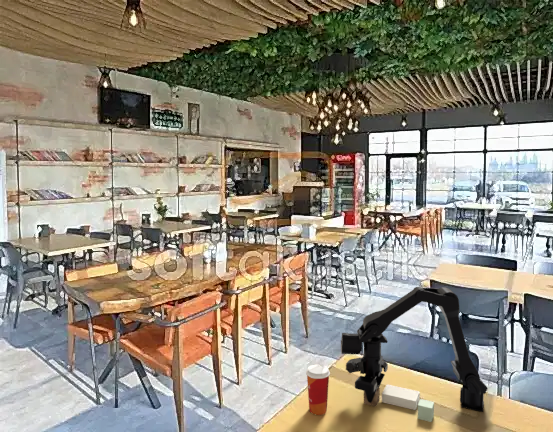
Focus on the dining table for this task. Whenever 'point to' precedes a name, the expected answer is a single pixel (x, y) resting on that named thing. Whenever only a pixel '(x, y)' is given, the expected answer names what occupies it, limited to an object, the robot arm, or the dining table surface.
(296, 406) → the dining table surface
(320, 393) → the paper cup
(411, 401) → the base slab
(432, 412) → the sage cube
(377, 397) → the walnut cube
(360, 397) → the dining table surface
